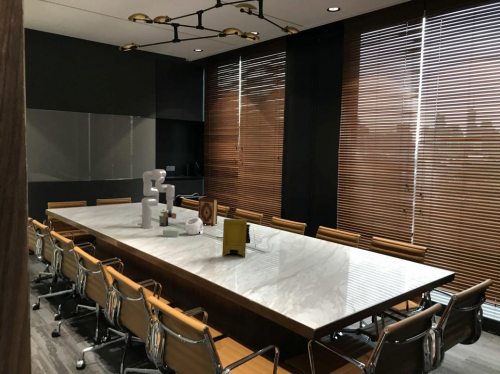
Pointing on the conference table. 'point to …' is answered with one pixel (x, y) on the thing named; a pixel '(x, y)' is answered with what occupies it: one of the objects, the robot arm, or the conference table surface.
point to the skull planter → (194, 226)
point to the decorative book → (208, 210)
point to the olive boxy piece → (235, 236)
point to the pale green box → (170, 232)
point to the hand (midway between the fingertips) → (169, 217)
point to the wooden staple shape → (171, 215)
